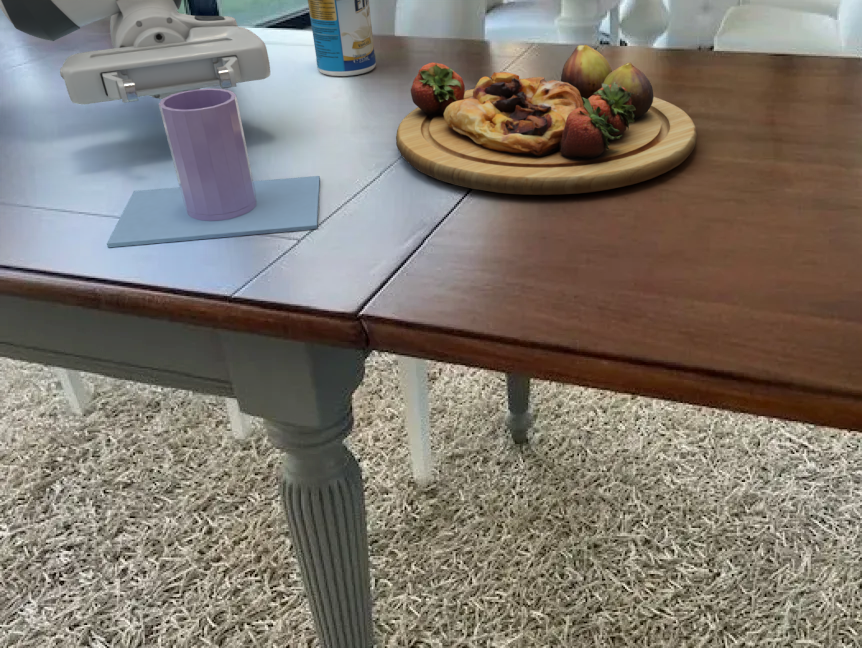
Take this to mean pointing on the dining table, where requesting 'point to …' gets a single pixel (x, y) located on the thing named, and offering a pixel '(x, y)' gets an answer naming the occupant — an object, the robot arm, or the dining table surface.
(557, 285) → the dining table surface
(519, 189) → the wooden plate
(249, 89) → the dining table surface
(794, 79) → the dining table surface
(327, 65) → the beverage bottle
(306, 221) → the light blue flat slab
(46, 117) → the dining table surface
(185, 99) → the cup
